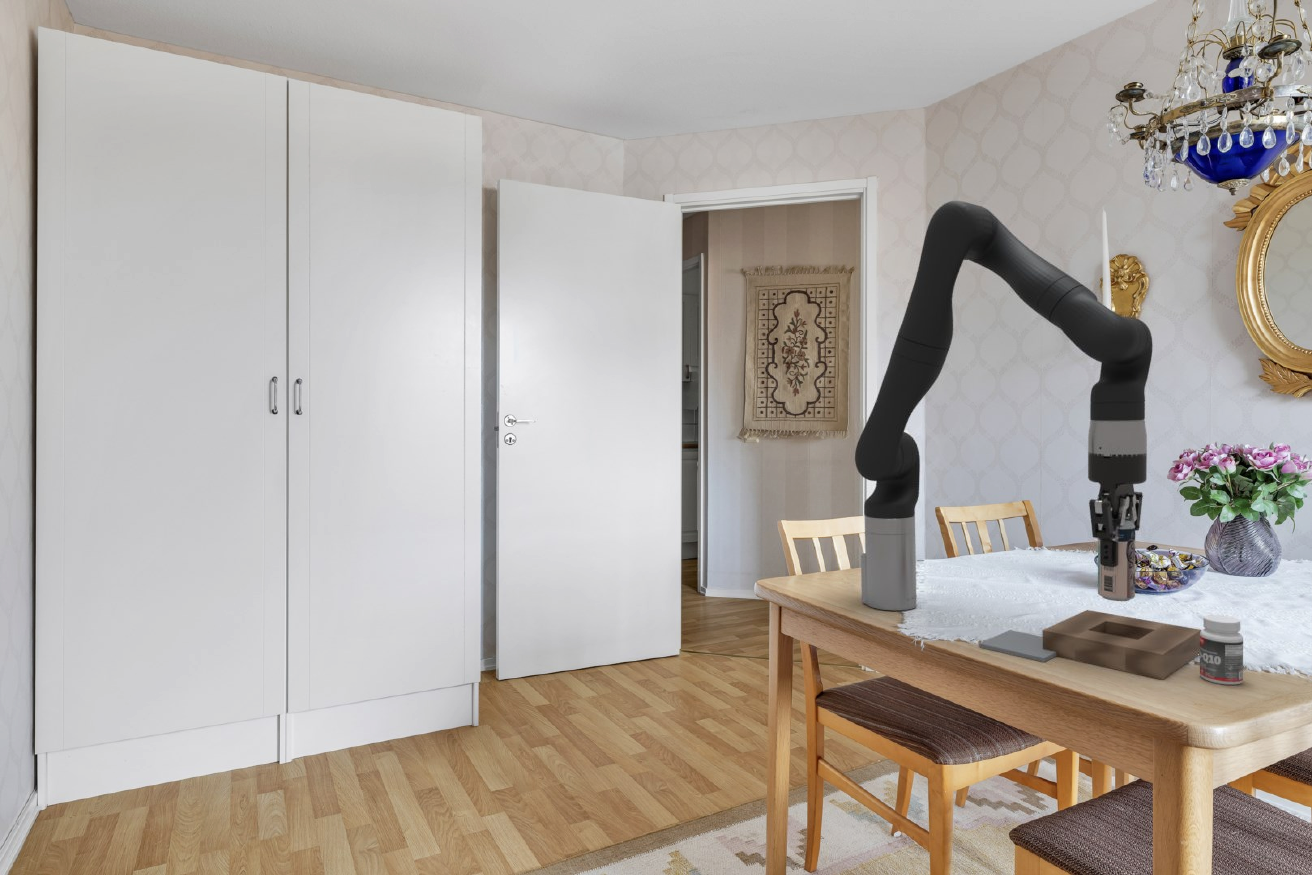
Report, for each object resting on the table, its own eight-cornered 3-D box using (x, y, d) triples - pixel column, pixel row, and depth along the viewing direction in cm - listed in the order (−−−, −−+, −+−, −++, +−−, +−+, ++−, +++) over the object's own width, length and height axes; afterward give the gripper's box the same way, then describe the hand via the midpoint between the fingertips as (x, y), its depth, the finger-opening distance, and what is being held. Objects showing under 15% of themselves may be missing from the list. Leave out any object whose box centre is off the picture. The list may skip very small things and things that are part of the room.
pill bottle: (1191, 674, 106) (1190, 614, 106) (1223, 672, 107) (1222, 612, 106) (1219, 686, 102) (1218, 624, 101) (1252, 684, 102) (1252, 622, 102)
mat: (979, 647, 121) (979, 643, 121) (1010, 633, 127) (1010, 629, 127) (1044, 662, 113) (1044, 658, 113) (1073, 646, 119) (1073, 643, 119)
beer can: (1140, 602, 113) (1140, 522, 113) (1104, 601, 114) (1105, 521, 114) (1127, 594, 118) (1127, 516, 117) (1093, 593, 119) (1093, 516, 118)
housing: (1042, 652, 117) (1042, 630, 117) (1087, 630, 127) (1087, 609, 127) (1162, 679, 105) (1162, 654, 105) (1201, 652, 115) (1201, 629, 115)
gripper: (1109, 446, 122) (1108, 552, 123) (1069, 452, 113) (1069, 566, 114) (1162, 448, 116) (1161, 559, 117) (1125, 454, 107) (1125, 575, 108)
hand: (1116, 562), depth 116 cm, fingers closed on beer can, 4 cm apart
